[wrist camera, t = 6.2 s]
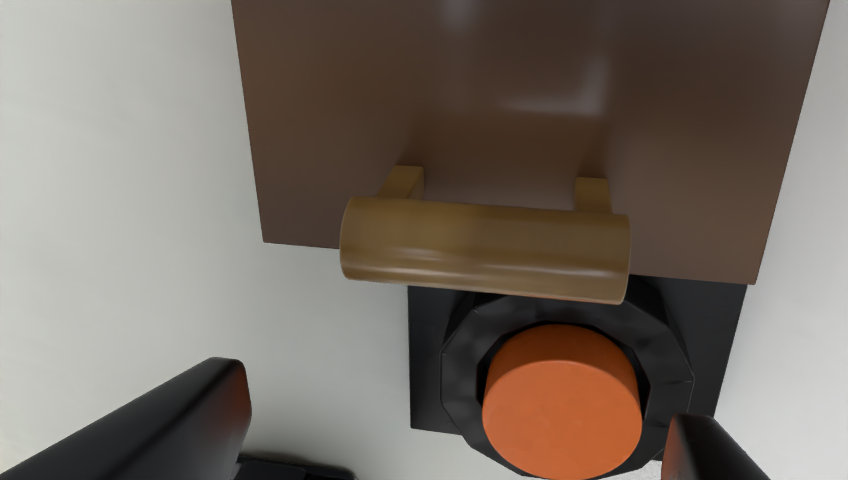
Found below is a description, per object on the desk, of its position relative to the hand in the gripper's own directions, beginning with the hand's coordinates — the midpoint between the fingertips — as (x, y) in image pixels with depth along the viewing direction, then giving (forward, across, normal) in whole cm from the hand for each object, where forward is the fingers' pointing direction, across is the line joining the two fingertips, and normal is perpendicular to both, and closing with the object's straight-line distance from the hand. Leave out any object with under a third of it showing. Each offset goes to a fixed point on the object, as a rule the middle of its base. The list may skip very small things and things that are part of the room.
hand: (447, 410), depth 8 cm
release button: (+10, -2, +7) cm, 13 cm away
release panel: (+13, -2, +7) cm, 15 cm away
